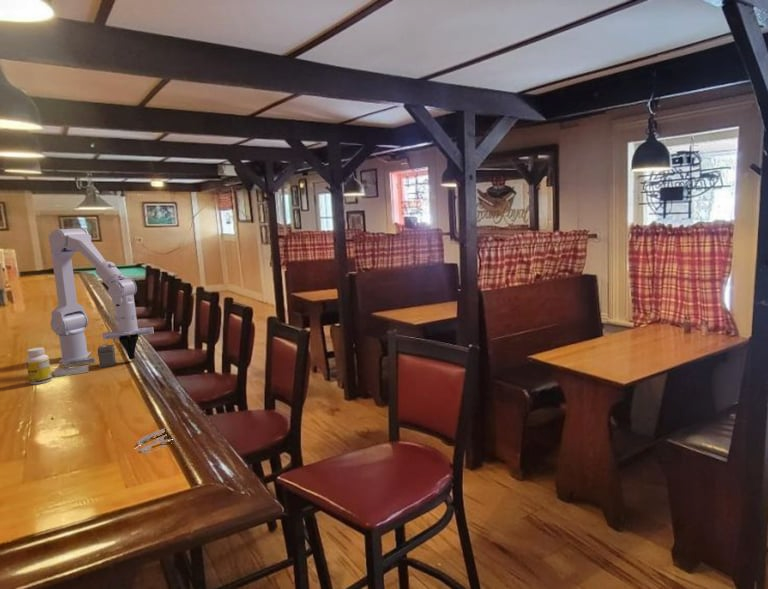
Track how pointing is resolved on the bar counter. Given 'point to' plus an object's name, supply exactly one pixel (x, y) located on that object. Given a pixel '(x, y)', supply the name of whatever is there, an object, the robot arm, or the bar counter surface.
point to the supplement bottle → (38, 366)
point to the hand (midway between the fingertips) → (132, 358)
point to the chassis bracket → (65, 370)
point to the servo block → (106, 355)
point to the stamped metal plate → (148, 438)
